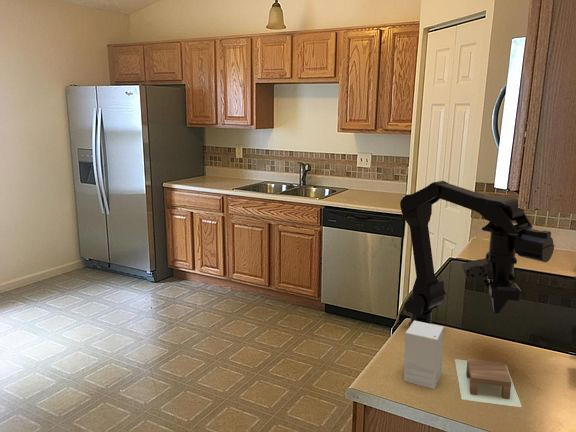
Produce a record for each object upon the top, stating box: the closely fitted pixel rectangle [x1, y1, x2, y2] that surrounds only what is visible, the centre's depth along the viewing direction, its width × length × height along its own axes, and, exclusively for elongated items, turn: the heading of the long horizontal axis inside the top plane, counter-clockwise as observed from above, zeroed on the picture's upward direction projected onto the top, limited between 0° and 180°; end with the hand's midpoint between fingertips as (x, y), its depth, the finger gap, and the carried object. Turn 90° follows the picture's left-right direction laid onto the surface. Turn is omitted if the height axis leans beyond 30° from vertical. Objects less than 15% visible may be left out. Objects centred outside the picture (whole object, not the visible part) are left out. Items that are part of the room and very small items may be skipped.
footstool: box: [466, 358, 511, 399], centre depth 105 cm, size 4×8×8 cm
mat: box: [454, 358, 522, 408], centre depth 108 cm, size 17×12×1 cm
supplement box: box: [403, 320, 445, 390], centre depth 108 cm, size 7×7×13 cm
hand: (496, 312), depth 114 cm, fingers closed
